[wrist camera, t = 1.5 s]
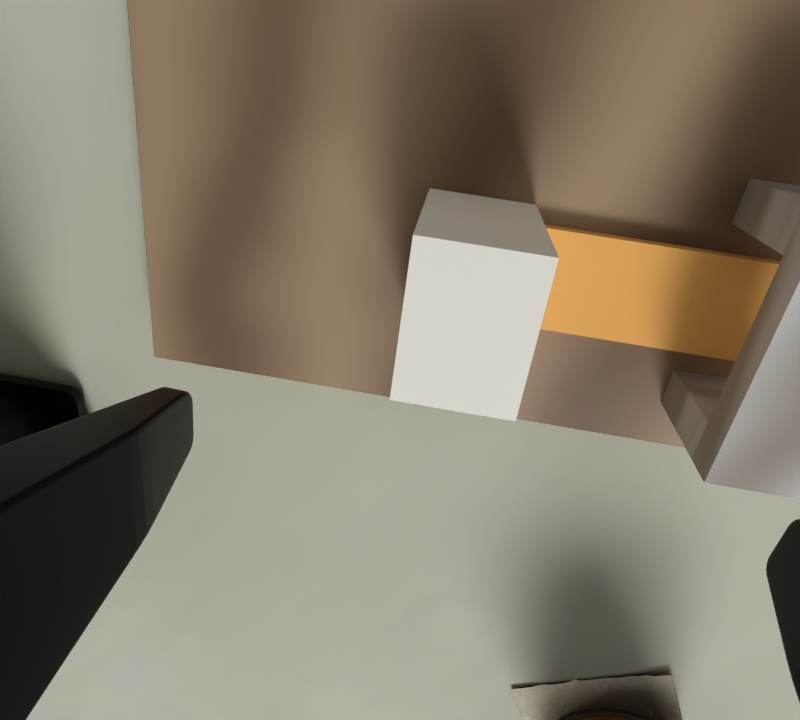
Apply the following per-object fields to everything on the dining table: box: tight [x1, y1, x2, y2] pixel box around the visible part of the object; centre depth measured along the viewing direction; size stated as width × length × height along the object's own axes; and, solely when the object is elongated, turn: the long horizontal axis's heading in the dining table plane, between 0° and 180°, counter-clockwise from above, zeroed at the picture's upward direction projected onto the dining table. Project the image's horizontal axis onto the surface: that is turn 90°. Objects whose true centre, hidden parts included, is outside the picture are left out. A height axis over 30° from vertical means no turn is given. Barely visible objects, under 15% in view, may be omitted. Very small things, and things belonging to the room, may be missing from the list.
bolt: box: [390, 188, 781, 421], centre depth 15 cm, size 18×4×5 cm, turn 83°
